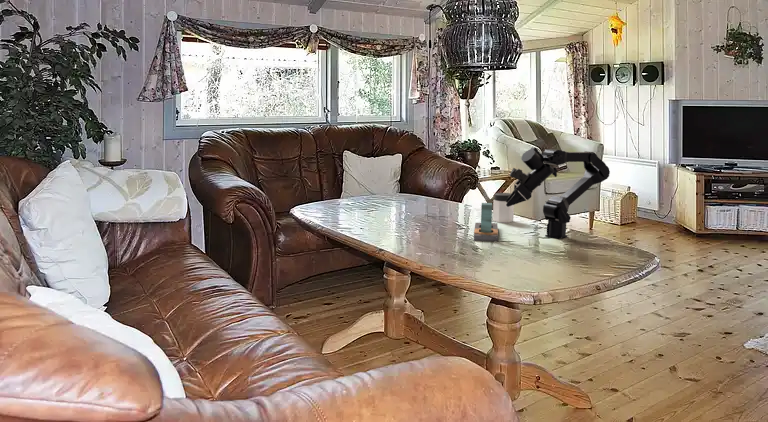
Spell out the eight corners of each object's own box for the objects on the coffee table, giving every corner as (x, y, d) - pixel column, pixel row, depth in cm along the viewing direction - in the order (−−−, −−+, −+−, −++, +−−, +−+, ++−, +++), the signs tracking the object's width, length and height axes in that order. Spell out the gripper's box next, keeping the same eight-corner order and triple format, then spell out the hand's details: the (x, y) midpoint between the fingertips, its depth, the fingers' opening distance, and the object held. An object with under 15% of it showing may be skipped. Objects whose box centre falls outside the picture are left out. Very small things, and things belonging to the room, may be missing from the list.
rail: (475, 227, 269) (475, 221, 269) (497, 228, 268) (497, 222, 267) (473, 240, 244) (473, 234, 244) (497, 241, 243) (497, 235, 242)
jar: (512, 219, 287) (513, 192, 285) (514, 222, 279) (515, 195, 277) (492, 219, 288) (492, 192, 286) (493, 222, 280) (494, 195, 278)
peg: (480, 235, 253) (481, 202, 251) (491, 235, 253) (492, 203, 250) (480, 237, 249) (481, 204, 247) (491, 237, 249) (492, 204, 247)
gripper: (522, 159, 253) (492, 185, 257) (523, 163, 235) (491, 192, 238) (541, 179, 253) (511, 206, 256) (544, 185, 235) (512, 213, 238)
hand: (506, 204), depth 247 cm, fingers open, 9 cm apart
